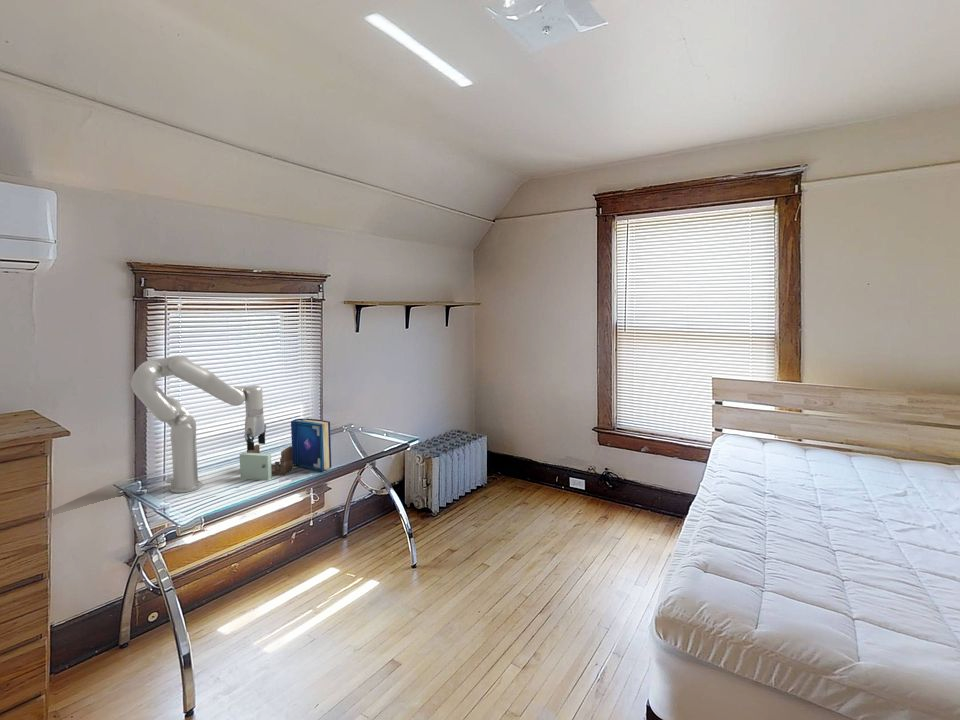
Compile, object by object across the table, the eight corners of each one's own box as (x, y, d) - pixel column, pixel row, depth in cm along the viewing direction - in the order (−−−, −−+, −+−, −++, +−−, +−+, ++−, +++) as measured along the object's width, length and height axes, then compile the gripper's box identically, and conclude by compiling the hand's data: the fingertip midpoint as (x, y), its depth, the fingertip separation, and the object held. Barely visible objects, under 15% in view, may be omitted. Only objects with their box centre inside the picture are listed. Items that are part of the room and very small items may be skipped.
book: (289, 465, 251) (288, 418, 248) (299, 461, 258) (299, 416, 255) (322, 472, 243) (322, 424, 240) (332, 468, 250) (331, 421, 246)
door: (239, 479, 231) (238, 454, 230) (243, 476, 235) (243, 452, 234) (267, 480, 230) (266, 456, 229) (271, 478, 234) (271, 454, 233)
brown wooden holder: (247, 473, 239) (246, 449, 238) (257, 467, 248) (256, 444, 247) (284, 475, 238) (284, 451, 236) (292, 469, 247) (292, 446, 245)
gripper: (256, 407, 238) (258, 441, 240) (236, 416, 221) (238, 452, 223) (271, 408, 237) (273, 441, 240) (252, 416, 220) (254, 452, 223)
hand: (256, 446), depth 231 cm, fingers open, 9 cm apart
